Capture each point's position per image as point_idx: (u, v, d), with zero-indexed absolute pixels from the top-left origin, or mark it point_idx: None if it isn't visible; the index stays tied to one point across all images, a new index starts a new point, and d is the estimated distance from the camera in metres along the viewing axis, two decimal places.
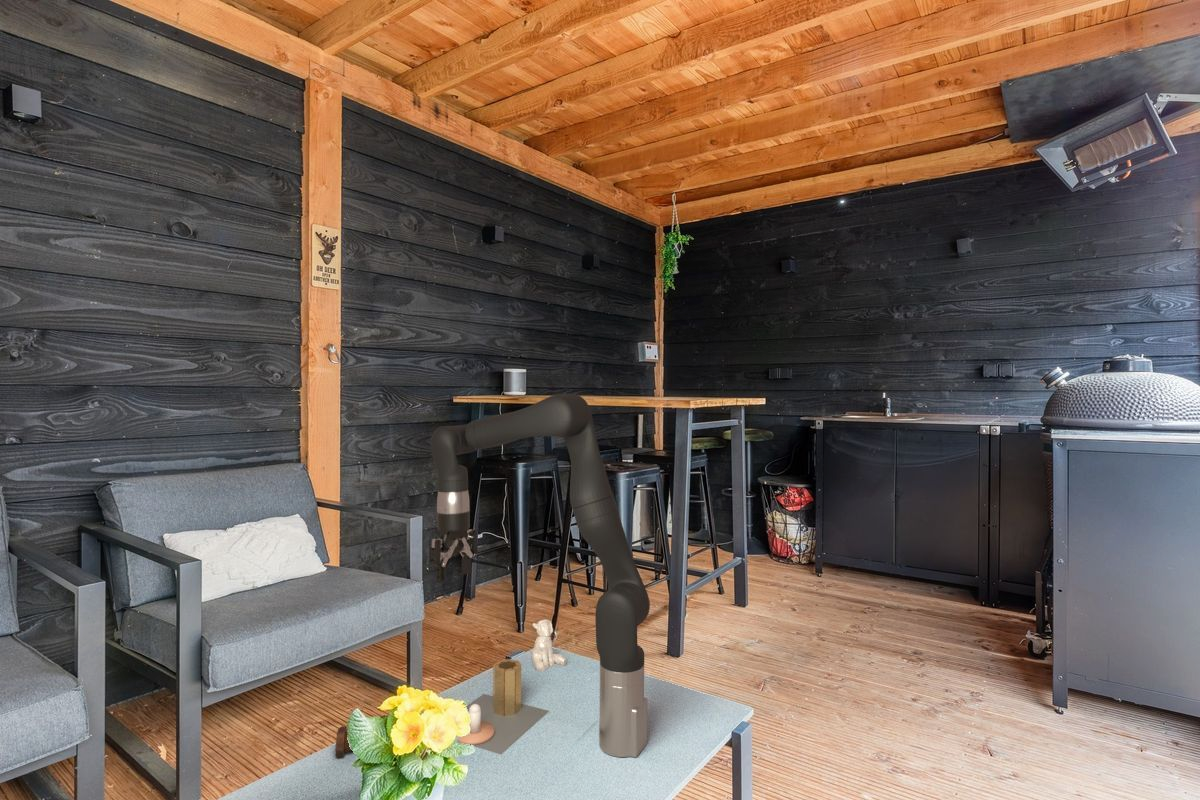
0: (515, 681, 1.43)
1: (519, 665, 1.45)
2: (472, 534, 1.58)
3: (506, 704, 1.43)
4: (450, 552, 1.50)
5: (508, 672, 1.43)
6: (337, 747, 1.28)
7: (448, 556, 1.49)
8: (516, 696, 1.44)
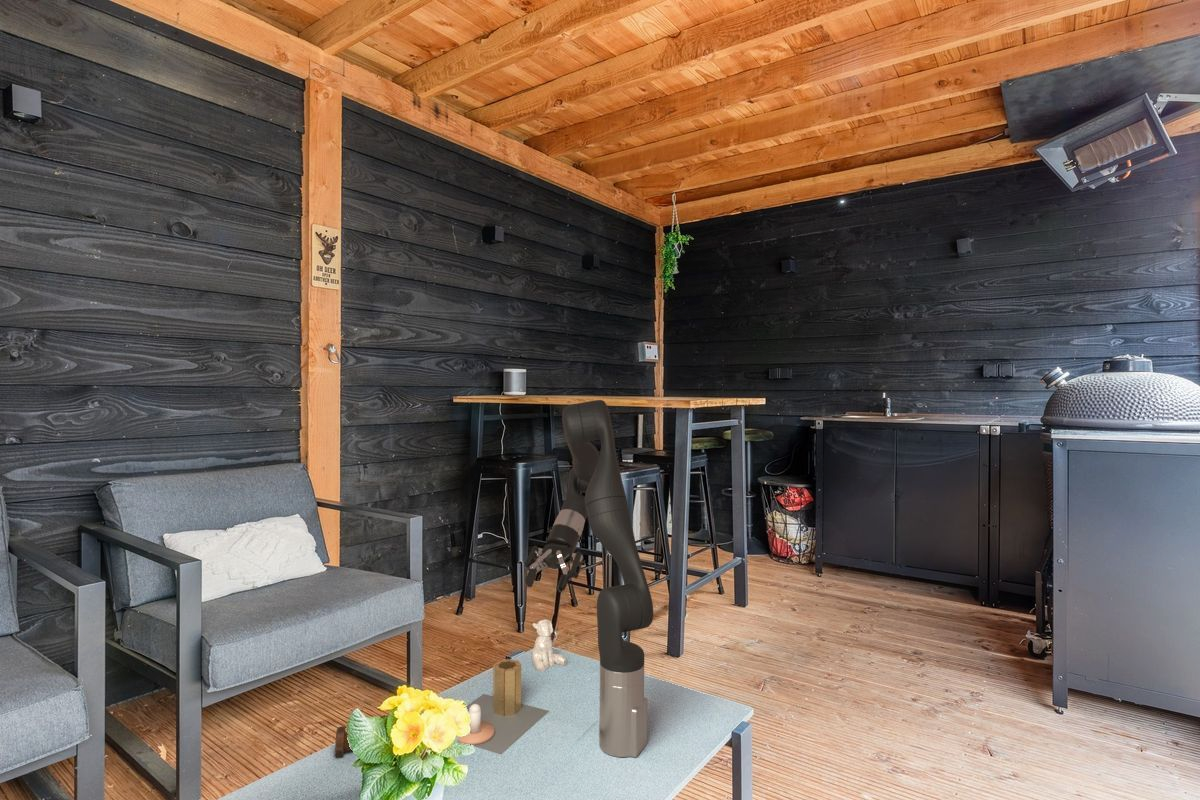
0: (515, 681, 1.43)
1: (519, 665, 1.45)
2: None
3: (506, 704, 1.43)
4: (540, 558, 1.60)
5: (508, 672, 1.43)
6: (337, 747, 1.28)
7: (537, 561, 1.60)
8: (516, 696, 1.44)
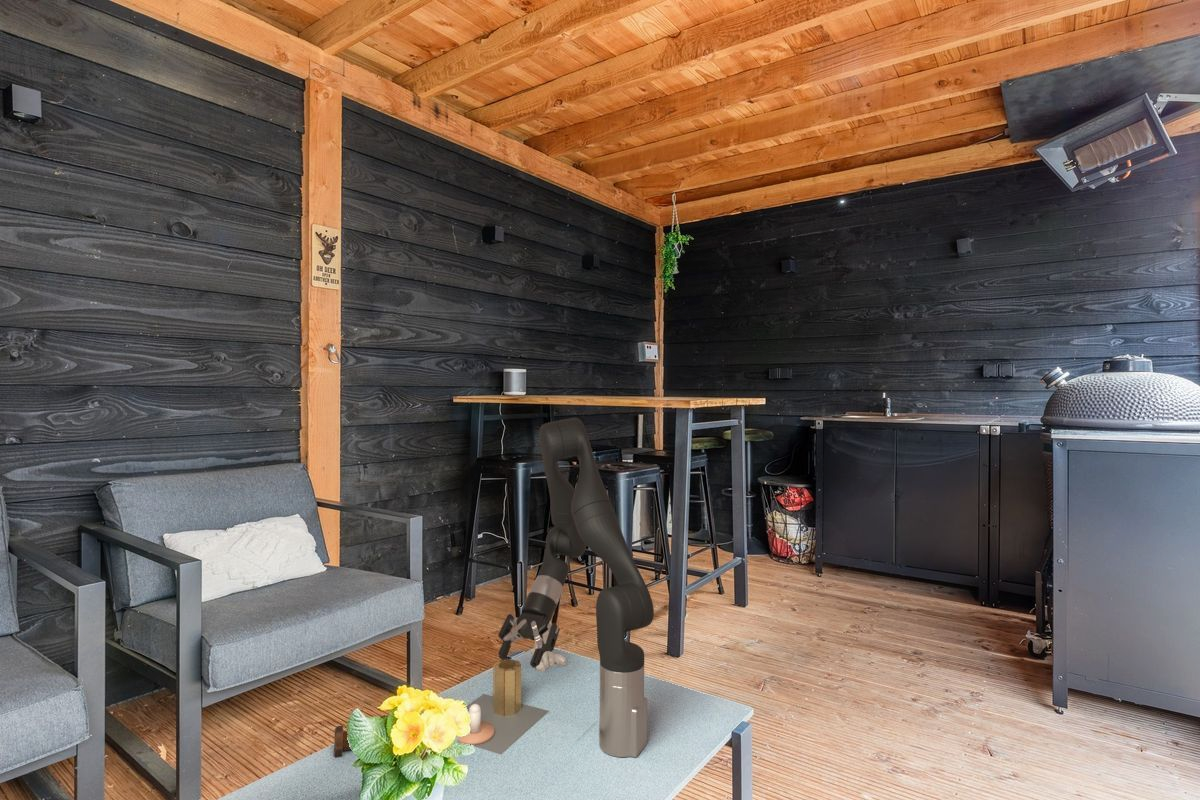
0: (515, 681, 1.43)
1: (519, 665, 1.45)
2: None
3: (506, 704, 1.43)
4: (514, 629, 1.54)
5: (508, 672, 1.43)
6: (336, 746, 1.28)
7: (511, 632, 1.53)
8: (516, 696, 1.44)
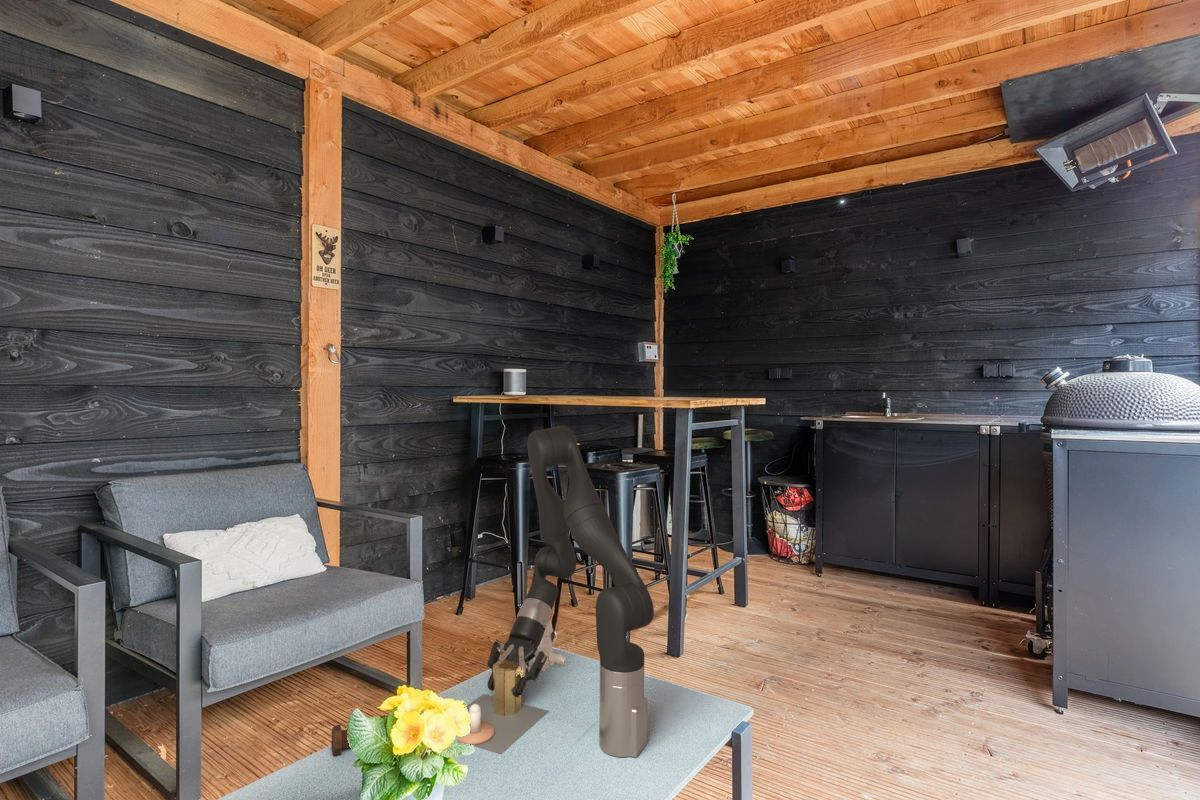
0: (515, 681, 1.43)
1: (519, 665, 1.45)
2: None
3: (506, 704, 1.43)
4: (503, 656, 1.48)
5: (508, 672, 1.43)
6: (335, 745, 1.28)
7: None
8: None
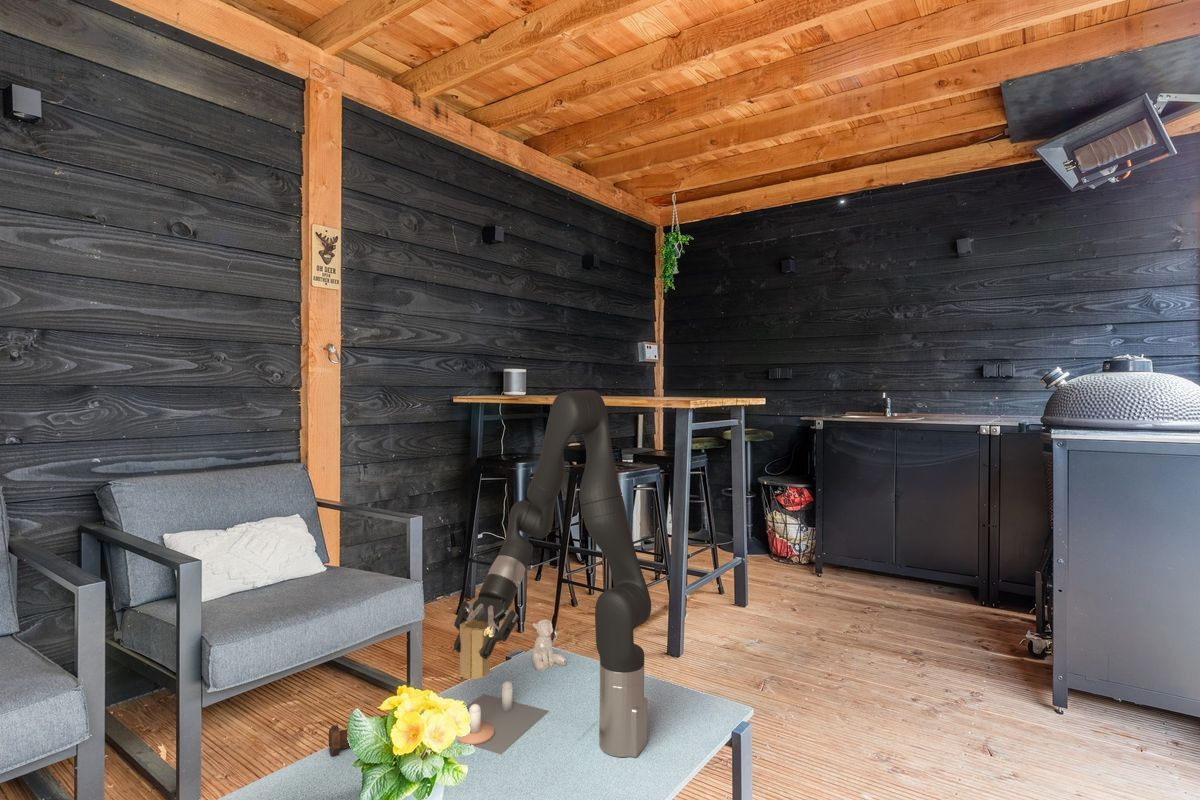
0: (483, 642, 1.32)
1: (488, 625, 1.34)
2: None
3: (473, 666, 1.32)
4: (471, 616, 1.37)
5: (475, 631, 1.31)
6: (334, 745, 1.28)
7: None
8: None
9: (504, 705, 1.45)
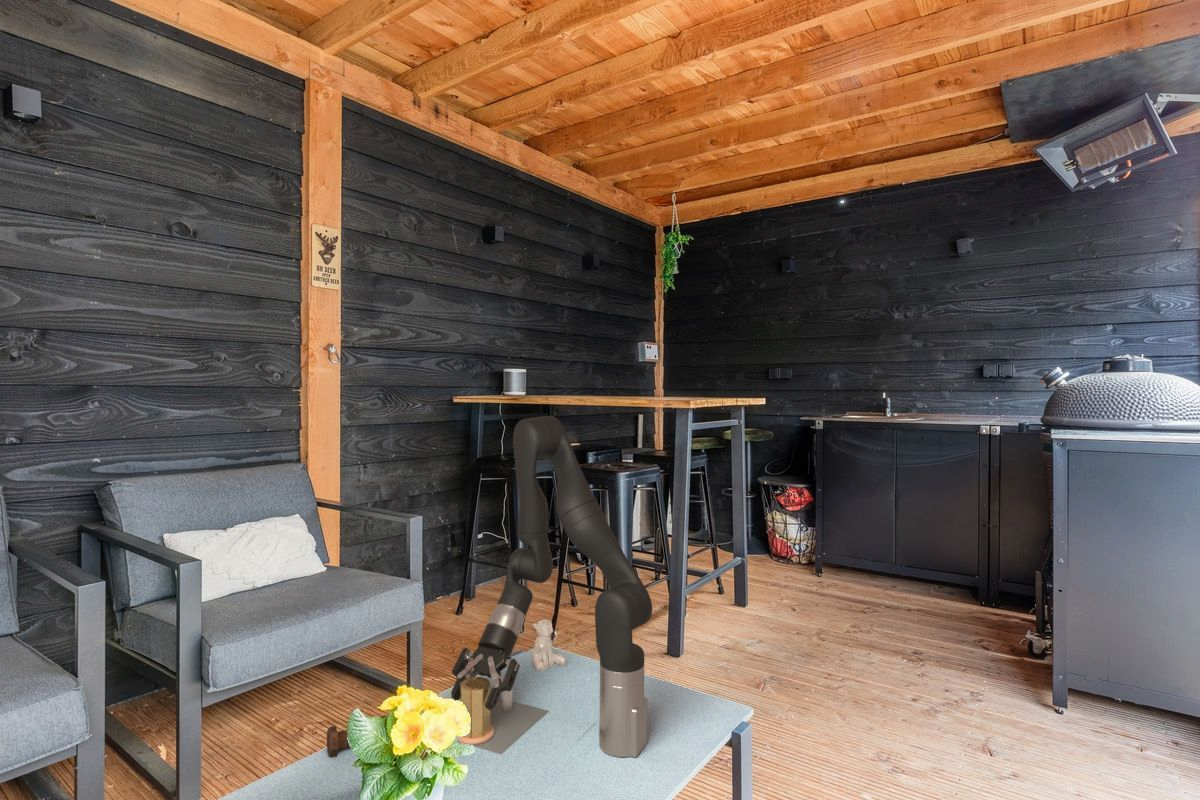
0: (482, 701, 1.33)
1: (488, 683, 1.35)
2: None
3: (473, 726, 1.32)
4: (469, 665, 1.38)
5: (475, 691, 1.32)
6: (332, 746, 1.28)
7: (466, 668, 1.38)
8: (484, 717, 1.33)
9: (504, 705, 1.45)
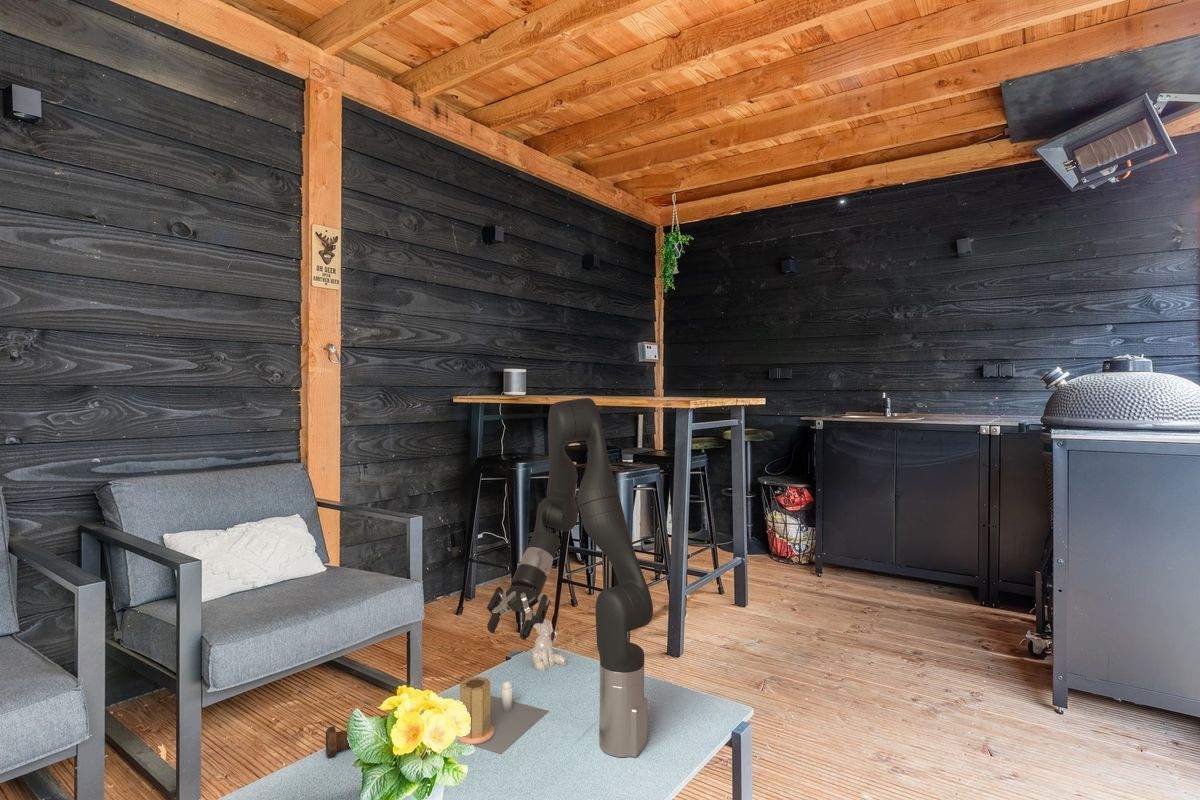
0: (482, 701, 1.33)
1: (488, 683, 1.35)
2: None
3: (473, 726, 1.32)
4: (504, 601, 1.49)
5: (475, 691, 1.32)
6: (330, 747, 1.28)
7: (500, 604, 1.49)
8: (484, 717, 1.33)
9: (504, 705, 1.45)
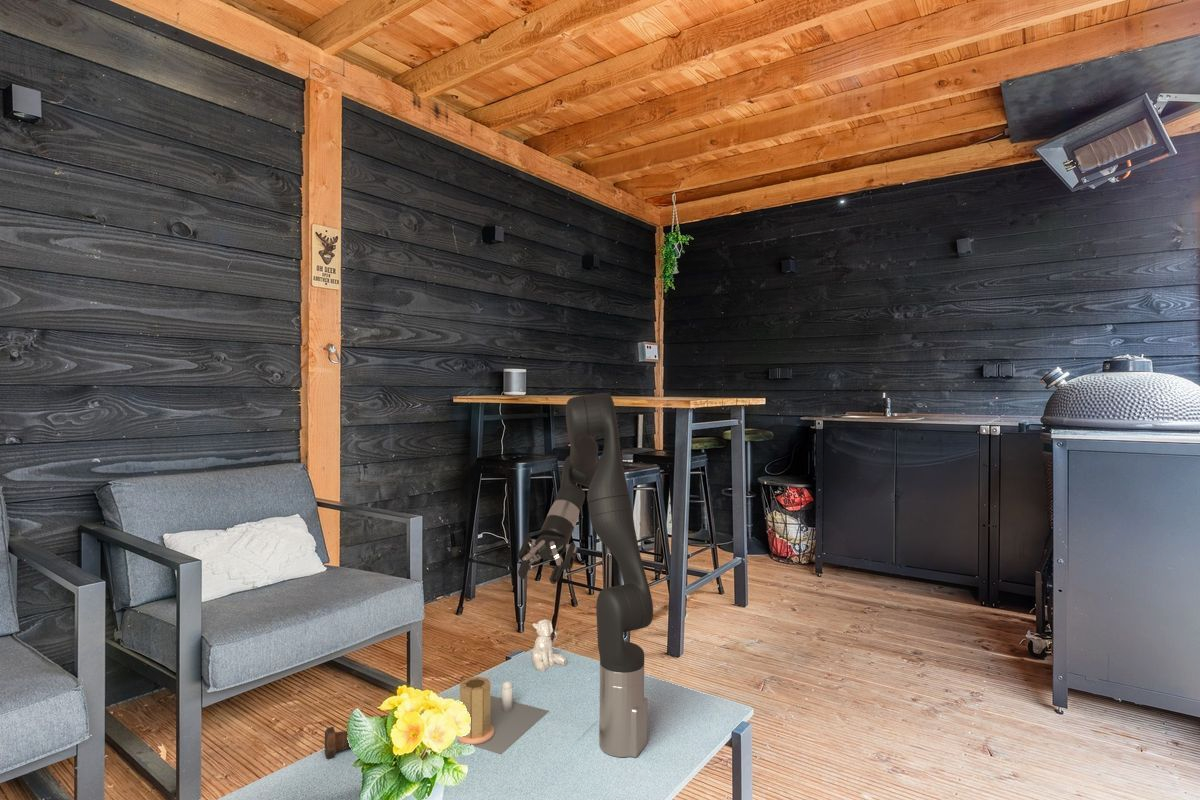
0: (482, 701, 1.33)
1: (488, 683, 1.35)
2: None
3: (473, 726, 1.32)
4: (533, 549, 1.57)
5: (475, 691, 1.32)
6: (329, 747, 1.27)
7: (530, 552, 1.57)
8: (484, 717, 1.33)
9: (504, 705, 1.45)
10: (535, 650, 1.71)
